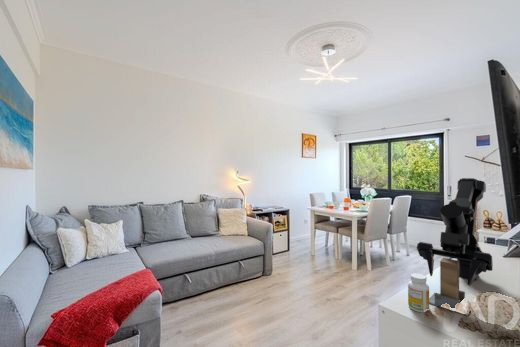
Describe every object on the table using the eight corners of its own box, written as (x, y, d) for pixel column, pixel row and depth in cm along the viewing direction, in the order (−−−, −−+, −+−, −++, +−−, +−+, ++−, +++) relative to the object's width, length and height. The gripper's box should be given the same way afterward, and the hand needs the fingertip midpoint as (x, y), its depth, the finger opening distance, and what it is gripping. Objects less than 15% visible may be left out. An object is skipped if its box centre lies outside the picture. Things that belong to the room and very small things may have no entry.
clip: (434, 293, 84) (434, 283, 84) (473, 305, 77) (473, 294, 77) (426, 302, 79) (426, 291, 79) (467, 316, 71) (467, 303, 71)
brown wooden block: (443, 298, 81) (443, 257, 80) (459, 302, 78) (459, 260, 77) (440, 302, 78) (440, 260, 78) (456, 308, 75) (456, 264, 75)
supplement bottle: (421, 302, 79) (421, 271, 79) (433, 312, 74) (433, 279, 73) (404, 303, 79) (404, 272, 79) (415, 313, 73) (415, 280, 73)
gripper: (418, 218, 87) (408, 258, 79) (492, 226, 73) (488, 276, 66) (424, 236, 92) (415, 275, 85) (493, 247, 79) (491, 295, 72)
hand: (448, 280), depth 77 cm, fingers open, 9 cm apart
